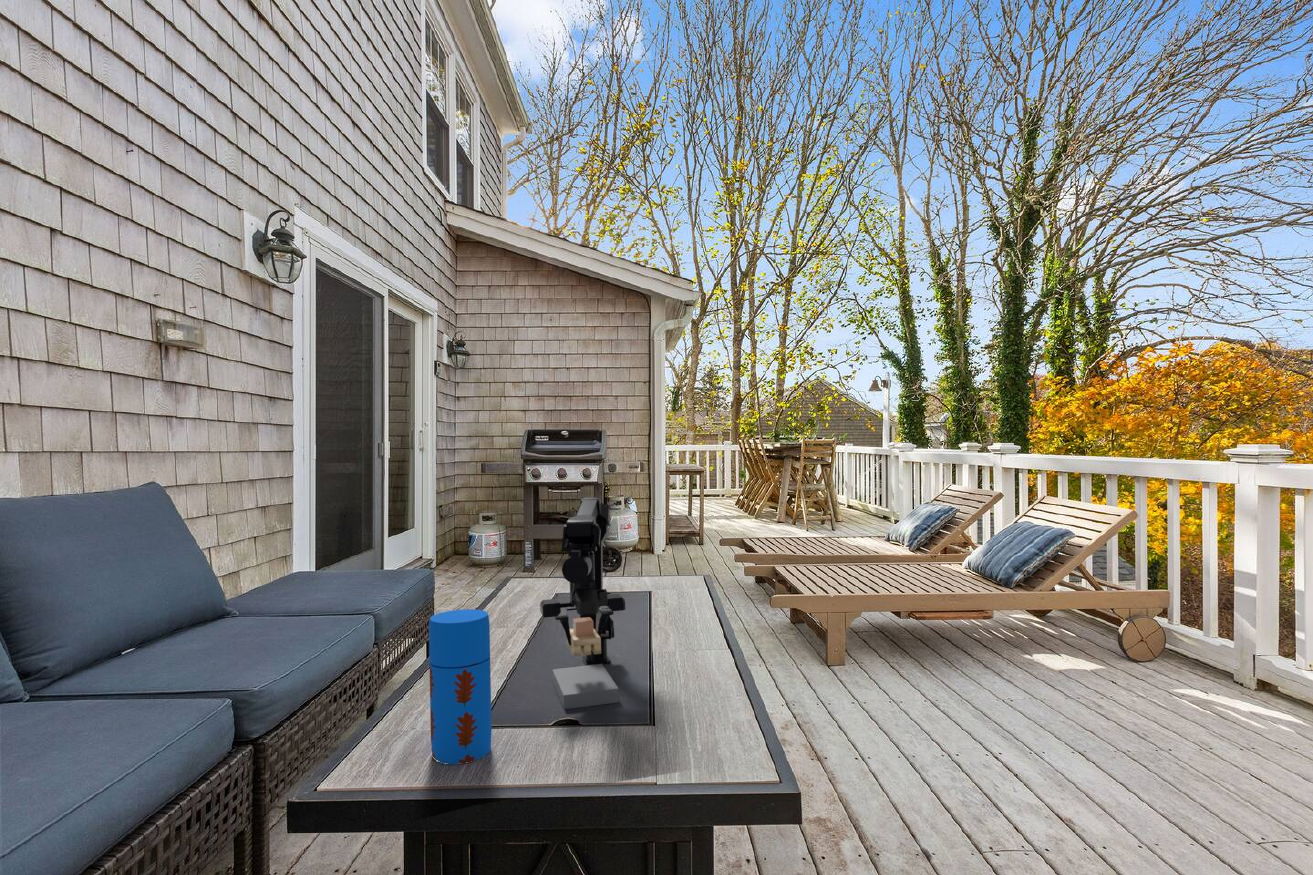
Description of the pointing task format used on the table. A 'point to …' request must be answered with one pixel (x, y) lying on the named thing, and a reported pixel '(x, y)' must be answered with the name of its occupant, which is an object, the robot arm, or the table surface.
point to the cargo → (583, 626)
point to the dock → (585, 686)
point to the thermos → (460, 685)
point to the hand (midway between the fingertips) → (583, 643)
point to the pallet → (585, 644)
